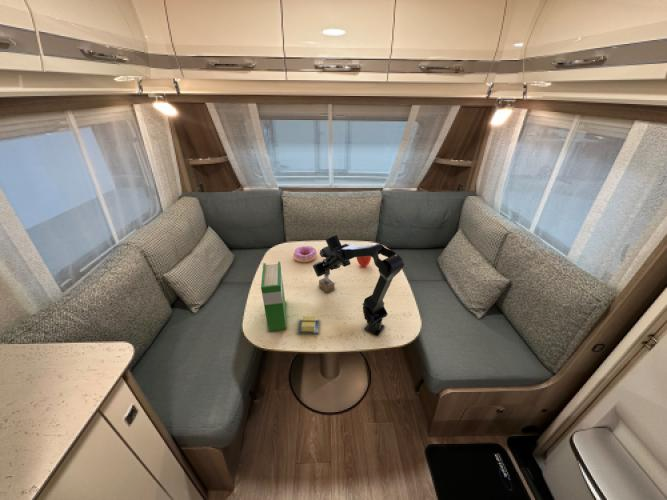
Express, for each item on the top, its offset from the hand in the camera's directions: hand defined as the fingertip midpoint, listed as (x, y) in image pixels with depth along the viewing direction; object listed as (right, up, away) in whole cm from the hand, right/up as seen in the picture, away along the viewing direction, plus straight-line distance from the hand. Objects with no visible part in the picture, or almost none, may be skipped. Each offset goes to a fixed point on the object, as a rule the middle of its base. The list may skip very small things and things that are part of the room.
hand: (324, 268), depth 137 cm
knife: (+1, -8, +3) cm, 8 cm away
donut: (-13, +5, +31) cm, 34 cm away
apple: (+22, 0, +22) cm, 32 cm away
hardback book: (-22, -21, -13) cm, 33 cm away
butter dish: (-6, -25, -19) cm, 32 cm away
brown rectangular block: (+1, -10, +5) cm, 11 cm away
